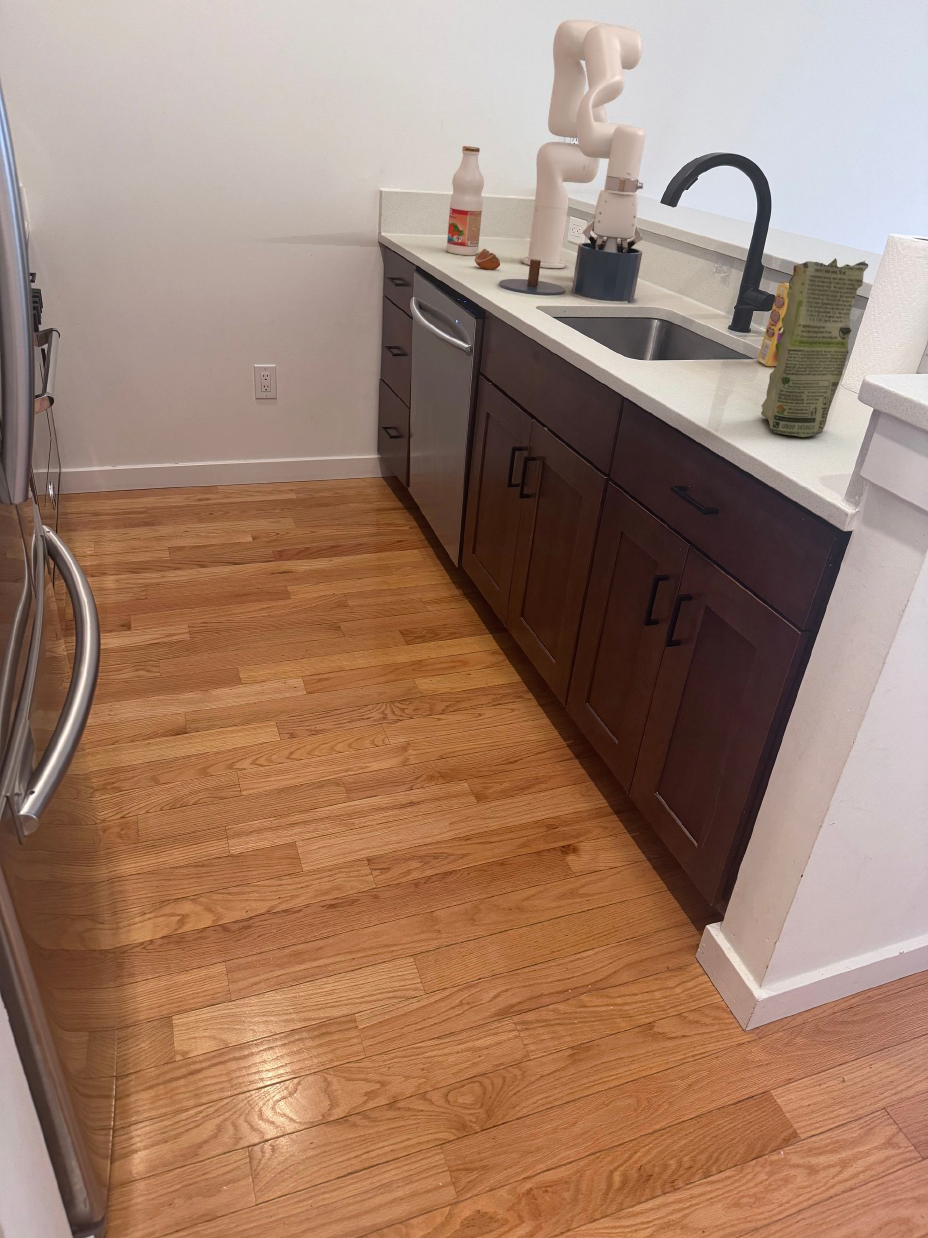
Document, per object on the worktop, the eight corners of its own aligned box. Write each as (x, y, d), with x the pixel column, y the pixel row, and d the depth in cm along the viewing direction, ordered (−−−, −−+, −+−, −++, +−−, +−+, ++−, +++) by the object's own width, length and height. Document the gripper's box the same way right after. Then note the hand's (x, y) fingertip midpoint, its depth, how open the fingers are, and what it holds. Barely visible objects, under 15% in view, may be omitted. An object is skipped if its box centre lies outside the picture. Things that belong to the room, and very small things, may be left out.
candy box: (767, 367, 172) (789, 285, 164) (756, 361, 175) (777, 280, 168) (807, 368, 174) (830, 288, 166) (795, 362, 177) (818, 283, 170)
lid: (497, 281, 226) (501, 251, 222) (561, 287, 227) (565, 257, 223) (499, 293, 212) (503, 261, 208) (567, 300, 212) (572, 268, 209)
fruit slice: (503, 273, 236) (505, 254, 234) (480, 272, 234) (482, 252, 232) (492, 267, 243) (494, 248, 240) (470, 266, 241) (471, 247, 238)
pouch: (748, 430, 135) (795, 257, 122) (755, 410, 144) (798, 248, 132) (823, 445, 132) (879, 269, 119) (825, 424, 141) (876, 259, 129)
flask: (619, 278, 215) (627, 234, 209) (590, 274, 215) (597, 230, 210) (621, 274, 221) (628, 231, 216) (592, 270, 222) (599, 227, 216)
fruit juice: (480, 256, 258) (490, 149, 244) (448, 254, 257) (457, 146, 242) (474, 251, 266) (484, 147, 252) (444, 248, 264) (452, 143, 250)
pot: (568, 287, 227) (575, 240, 221) (628, 293, 228) (637, 246, 222) (574, 299, 214) (582, 249, 208) (638, 306, 214) (647, 255, 208)
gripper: (653, 188, 212) (638, 268, 221) (583, 180, 211) (571, 261, 220) (658, 191, 205) (643, 273, 214) (587, 183, 204) (574, 266, 214)
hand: (607, 266), depth 217 cm, fingers closed on flask, 4 cm apart
